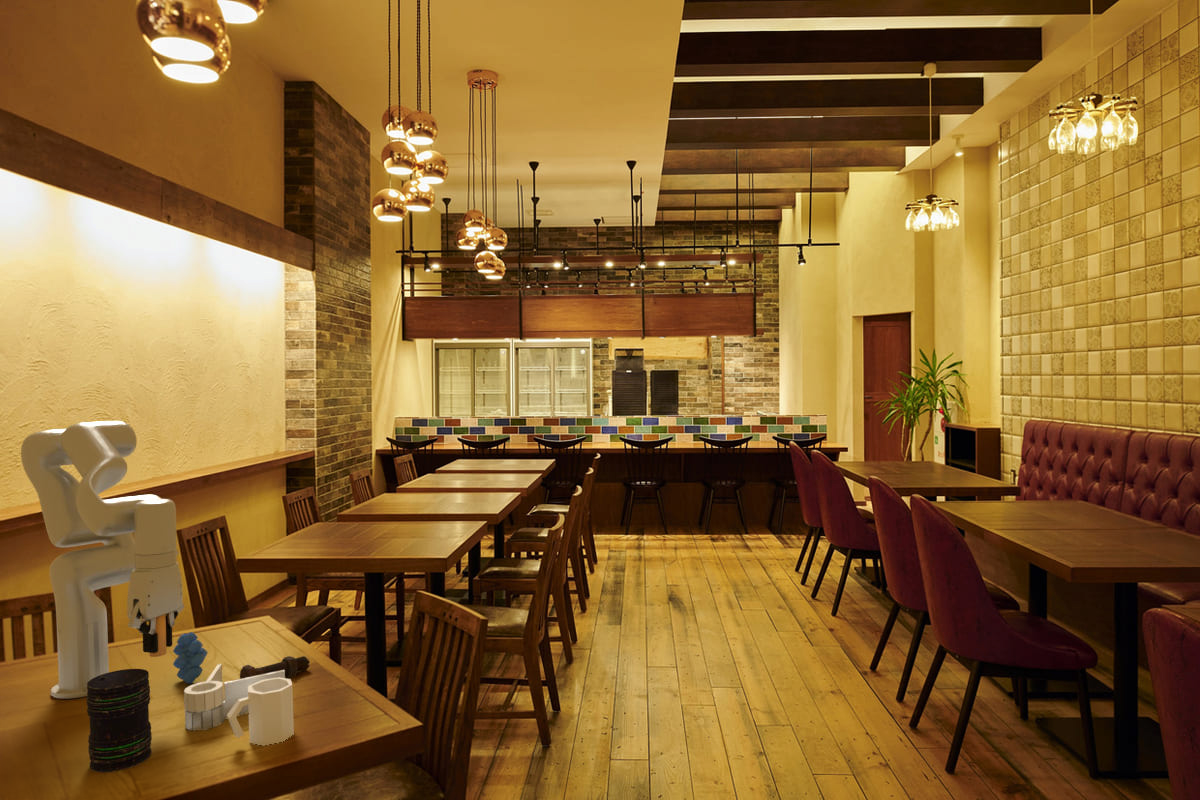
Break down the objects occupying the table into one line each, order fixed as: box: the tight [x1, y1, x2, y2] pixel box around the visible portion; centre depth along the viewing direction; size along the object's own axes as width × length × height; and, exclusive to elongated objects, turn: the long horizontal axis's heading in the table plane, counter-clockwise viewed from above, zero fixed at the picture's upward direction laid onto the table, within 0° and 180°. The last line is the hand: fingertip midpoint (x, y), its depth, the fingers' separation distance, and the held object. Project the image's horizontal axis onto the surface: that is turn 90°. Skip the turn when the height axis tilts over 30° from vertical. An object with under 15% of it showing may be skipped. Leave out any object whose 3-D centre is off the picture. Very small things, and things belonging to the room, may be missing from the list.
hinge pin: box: [149, 614, 167, 658], centre depth 161 cm, size 3×3×9 cm
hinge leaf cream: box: [183, 663, 225, 712], centre depth 163 cm, size 17×7×7 cm, turn 14°
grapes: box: [172, 631, 209, 685], centre depth 181 cm, size 12×7×12 cm, turn 52°
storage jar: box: [86, 668, 153, 773], centre depth 143 cm, size 10×10×15 cm
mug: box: [227, 677, 295, 747], centre depth 150 cm, size 12×9×10 cm
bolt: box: [239, 655, 311, 679], centre depth 182 cm, size 6×5×15 cm
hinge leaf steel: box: [184, 670, 286, 732], centre depth 161 cm, size 7×19×7 cm, turn 124°
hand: (157, 648), depth 161 cm, fingers closed on hinge pin, 3 cm apart
